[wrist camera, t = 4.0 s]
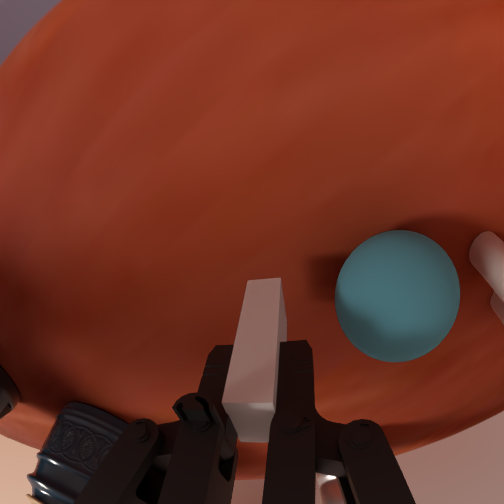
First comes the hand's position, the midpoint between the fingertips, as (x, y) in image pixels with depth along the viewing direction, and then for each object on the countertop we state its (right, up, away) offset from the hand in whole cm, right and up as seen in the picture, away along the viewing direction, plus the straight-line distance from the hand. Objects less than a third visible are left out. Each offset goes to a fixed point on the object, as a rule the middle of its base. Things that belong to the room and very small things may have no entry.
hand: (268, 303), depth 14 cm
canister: (-19, -20, +16) cm, 31 cm away
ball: (+6, 0, -2) cm, 6 cm away
